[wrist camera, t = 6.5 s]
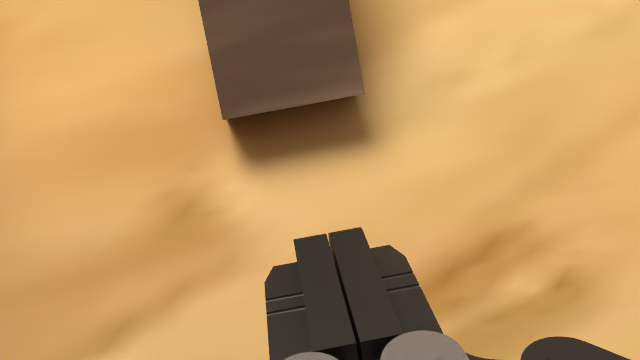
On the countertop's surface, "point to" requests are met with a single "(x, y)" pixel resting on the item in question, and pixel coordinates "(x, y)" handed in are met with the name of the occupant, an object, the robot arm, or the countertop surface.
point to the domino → (280, 53)
